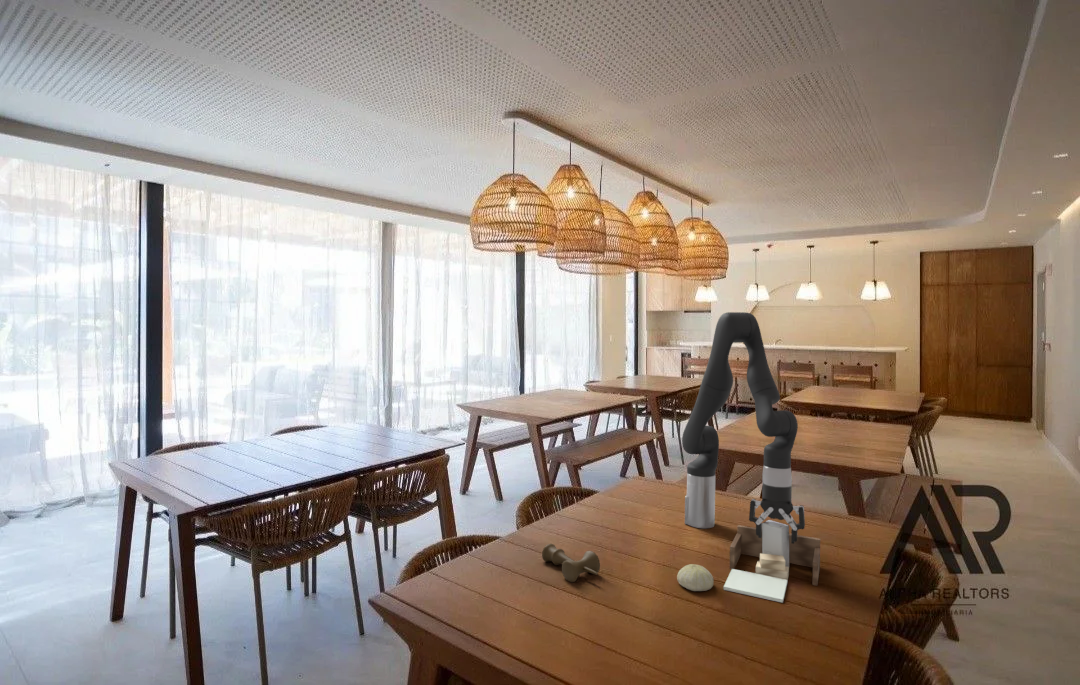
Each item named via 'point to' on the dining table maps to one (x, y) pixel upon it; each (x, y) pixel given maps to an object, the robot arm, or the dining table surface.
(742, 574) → the plate
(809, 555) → the screen
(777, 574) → the offcut low
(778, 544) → the skincare box
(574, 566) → the kendama
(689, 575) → the sea urchin shell
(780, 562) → the offcut top
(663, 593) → the dining table surface
